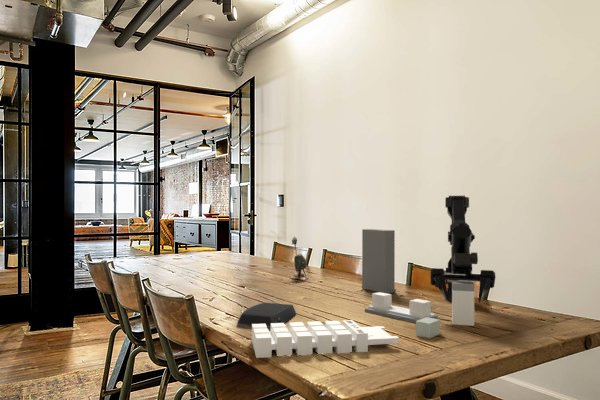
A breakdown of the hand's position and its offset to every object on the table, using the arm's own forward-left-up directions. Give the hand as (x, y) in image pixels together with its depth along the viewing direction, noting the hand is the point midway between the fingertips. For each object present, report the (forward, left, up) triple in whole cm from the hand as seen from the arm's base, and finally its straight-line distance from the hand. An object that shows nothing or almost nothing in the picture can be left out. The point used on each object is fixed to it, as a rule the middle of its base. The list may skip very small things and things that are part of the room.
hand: (463, 300), depth 140 cm
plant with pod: (+9, -97, -7) cm, 98 cm away
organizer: (+48, +3, -7) cm, 48 cm away
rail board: (+10, -17, -7) cm, 21 cm away
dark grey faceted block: (+51, -28, -7) cm, 59 cm away
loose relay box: (+17, +5, -7) cm, 19 cm away
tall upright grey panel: (-8, -56, -7) cm, 57 cm away
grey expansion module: (-1, -1, -7) cm, 7 cm away
